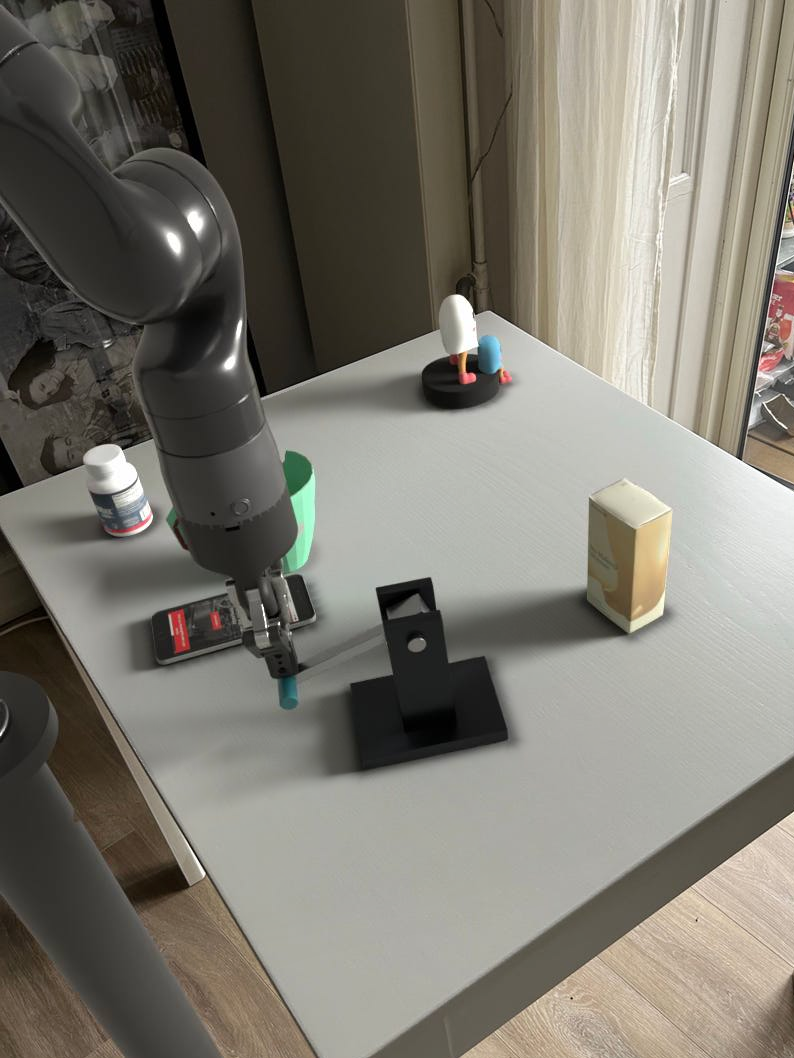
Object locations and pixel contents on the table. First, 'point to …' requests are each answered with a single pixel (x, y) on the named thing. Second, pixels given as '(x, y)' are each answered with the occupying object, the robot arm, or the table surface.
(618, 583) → the cosmetic box
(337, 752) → the table surface
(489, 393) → the figurine
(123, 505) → the pill bottle
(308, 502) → the mug
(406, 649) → the bracket
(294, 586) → the smartphone
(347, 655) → the lever
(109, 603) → the table surface
